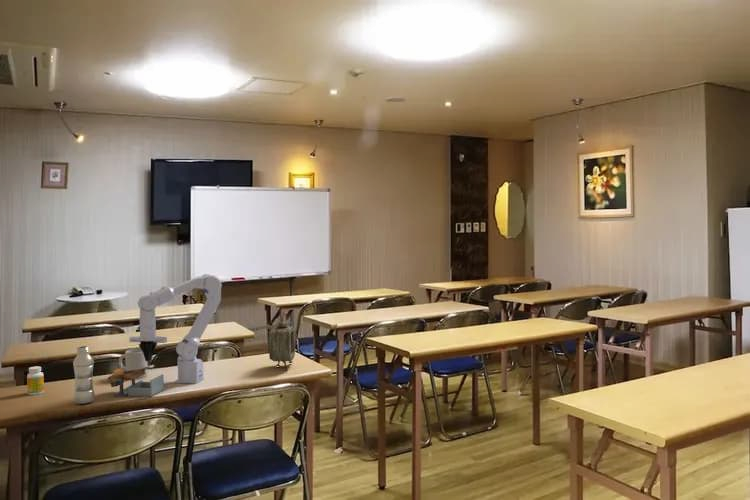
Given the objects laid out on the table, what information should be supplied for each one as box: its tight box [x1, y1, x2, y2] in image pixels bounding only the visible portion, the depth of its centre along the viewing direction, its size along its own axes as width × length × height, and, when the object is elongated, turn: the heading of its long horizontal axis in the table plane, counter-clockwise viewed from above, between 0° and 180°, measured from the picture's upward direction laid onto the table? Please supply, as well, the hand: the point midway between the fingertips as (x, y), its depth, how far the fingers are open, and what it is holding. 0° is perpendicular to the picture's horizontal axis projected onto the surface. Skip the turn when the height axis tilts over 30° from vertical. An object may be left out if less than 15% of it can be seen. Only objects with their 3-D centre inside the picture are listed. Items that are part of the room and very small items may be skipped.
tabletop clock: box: [268, 310, 296, 370], centre depth 252 cm, size 14×9×25 cm, turn 179°
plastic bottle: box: [72, 345, 96, 405], centre depth 204 cm, size 6×7×20 cm
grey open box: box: [127, 374, 165, 398], centre depth 216 cm, size 9×9×6 cm
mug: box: [118, 348, 149, 381], centre depth 240 cm, size 12×8×11 cm
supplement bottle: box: [26, 365, 45, 396], centre depth 217 cm, size 5×5×10 cm
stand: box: [113, 378, 136, 398], centre depth 217 cm, size 5×11×7 cm, turn 172°
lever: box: [107, 364, 155, 388], centre depth 220 cm, size 11×13×4 cm
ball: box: [112, 367, 125, 376], centre depth 217 cm, size 4×4×4 cm
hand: (148, 360), depth 224 cm, fingers closed
